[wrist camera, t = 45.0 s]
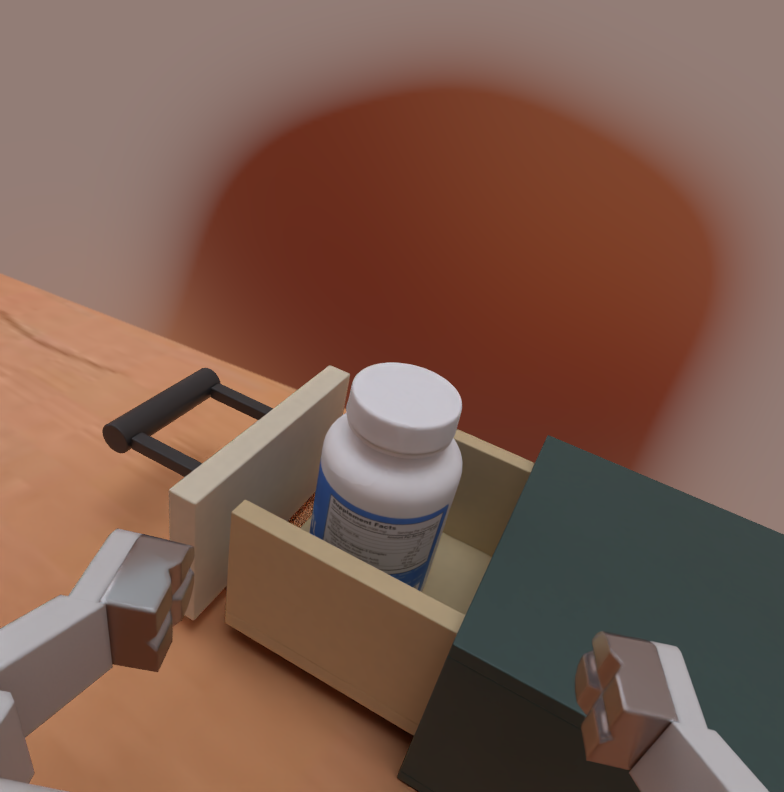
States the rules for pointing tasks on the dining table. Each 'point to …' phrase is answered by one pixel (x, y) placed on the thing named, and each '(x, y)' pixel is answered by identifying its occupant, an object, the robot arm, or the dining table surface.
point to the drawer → (320, 544)
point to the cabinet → (604, 629)
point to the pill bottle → (390, 470)
